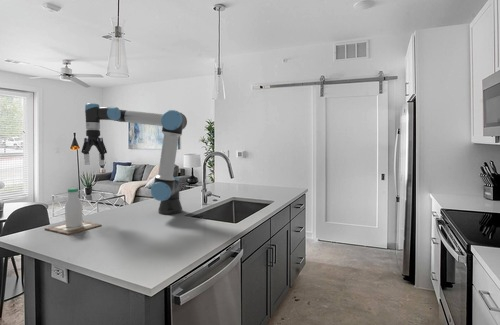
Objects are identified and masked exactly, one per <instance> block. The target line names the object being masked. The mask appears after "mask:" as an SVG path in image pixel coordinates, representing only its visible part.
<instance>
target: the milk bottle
mask: <svg viewBox="0 0 500 325" xmlns="http://www.w3.org/2000/svg"><path fill="white" fill-rule="evenodd" d="M67 193H68V196H67V199H66V201H65V203H64V207H65V208H64V210H65V211H64V212H65V213H64V214H65V215H64V216H65V223H66V227H68V228H73V227H79V226H81V225H82V224H83V221H84V220H83V218H84V217H83V204H82V203H83V202H82V200H81V199H80V196H79V194H78V193H79V188H77V187H76V188H75V187H74V188H72V187H71V188H68V189H67Z"/></svg>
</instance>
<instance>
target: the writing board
mask: <svg viewBox="0 0 500 325" xmlns="http://www.w3.org/2000/svg"><path fill="white" fill-rule="evenodd" d="M99 227H102V224H100V223H95V222H91V221H85V220H83V224H82V225H81V226H79V227H73V228H68V227H66V222H65V223H61V224H55V225H53V226H48V227H45V228H44V231H49V232H53V233H58V234H61V235H65V236H70V235H74V234H78V233H81V232H84V231H87V230H91V229H94V228H99Z"/></svg>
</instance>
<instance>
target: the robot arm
mask: <svg viewBox="0 0 500 325" xmlns="http://www.w3.org/2000/svg"><path fill="white" fill-rule="evenodd" d="M84 112H85V114H84V115H85V129H86V130H85V135H86V137H84V138H83V145H82V148H81V151H80V152H81V154H83V160H84V165H86V166H88V165H90V162H91V161H90V151H91V150H92V147H93V146H95V148H96V149H97V151H98V164H99V166H105V155H106V154H108V151H107V148H106V145H105V143H104V139H103V138H104V137H100V136H101V121H114V122H120V123H132V124H140V125H147V126H159V127H161V133H162V134H163V140H162V146H161V153H160V159H159V160H160V161H159V166H158V172H157V174H156V175H155V177H154V182H153V184H152V186H151V187H150V195H151V197H152V198H153V199H154V200H156V201H159V202H160V203H159V207H158V211H157V212H158V213H159V214H161V215H175V214H179V213H180V214H181V213H182V212H183V206H182V204H181V200H180V178H179V177H178V176H174V169H175V164H176V163H175V162H176V157H177V151H178V144H179V137H181V136H182V135H183V130H184V129H185V128H186V126H187V124H188V120H187V119H188V118H187V117H186V115H185V114H184V113H182V112H179V111H178V110H176V109H169V110H167V111H164V112H163V113H154V112H144V111H135V110H125V109H120V108H119V107H115V106H107V107H106V106H103V107H102V106H101V107H100V104H98V103H91V102H90V103H86V104H85V106H84Z"/></svg>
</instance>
